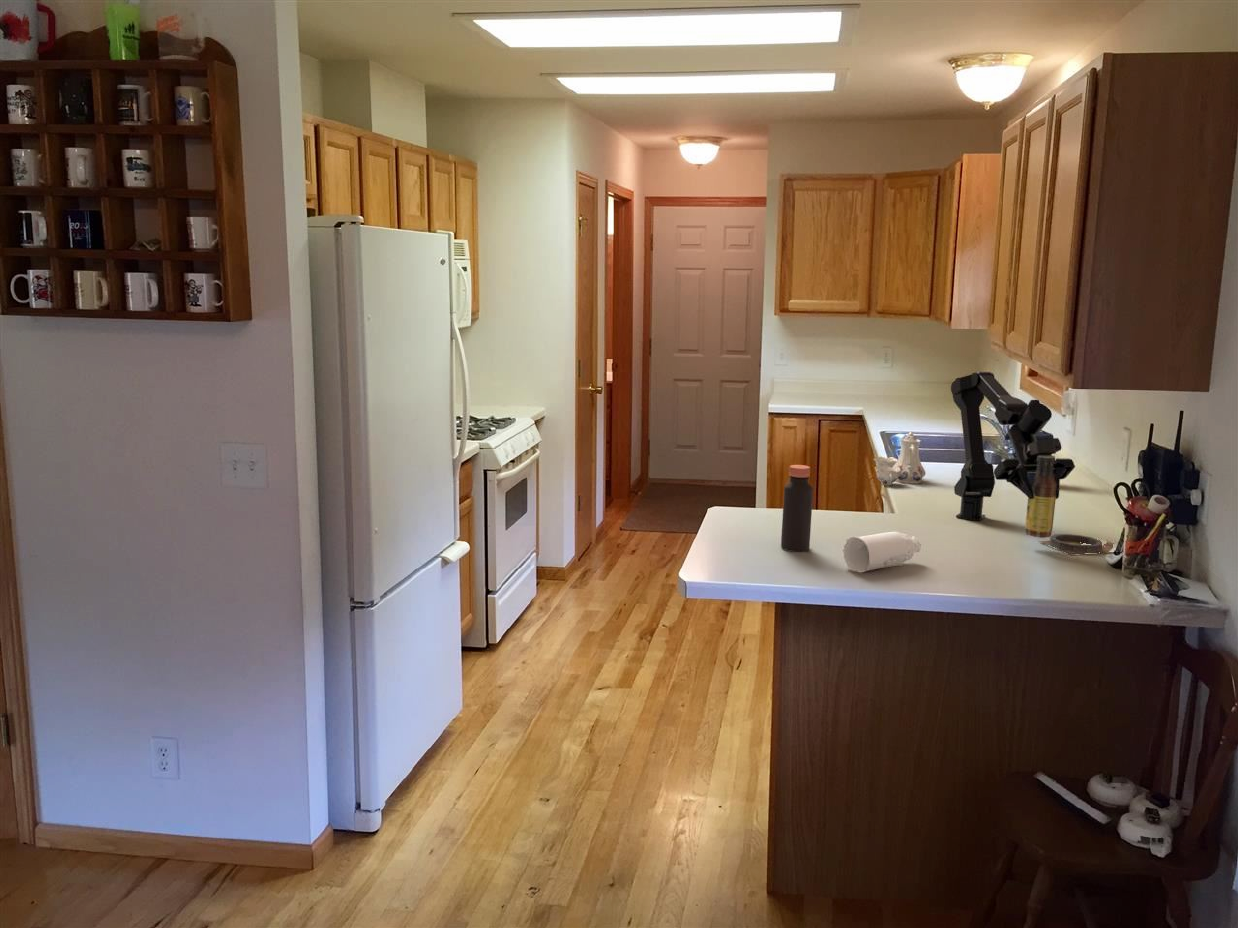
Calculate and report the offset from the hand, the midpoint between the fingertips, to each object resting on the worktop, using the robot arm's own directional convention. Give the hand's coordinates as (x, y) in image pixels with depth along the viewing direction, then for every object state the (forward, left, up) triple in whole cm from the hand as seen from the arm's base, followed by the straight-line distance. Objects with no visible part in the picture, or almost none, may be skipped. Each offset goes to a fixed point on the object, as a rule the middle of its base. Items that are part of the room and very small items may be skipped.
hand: (1044, 498), depth 253 cm
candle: (-86, -21, -13) cm, 90 cm away
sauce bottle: (-1, -1, -10) cm, 10 cm away
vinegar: (+36, -49, -13) cm, 62 cm away
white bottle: (+38, -27, -14) cm, 48 cm away
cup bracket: (-12, +8, -13) cm, 20 cm away
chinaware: (-64, -57, -14) cm, 87 cm away
